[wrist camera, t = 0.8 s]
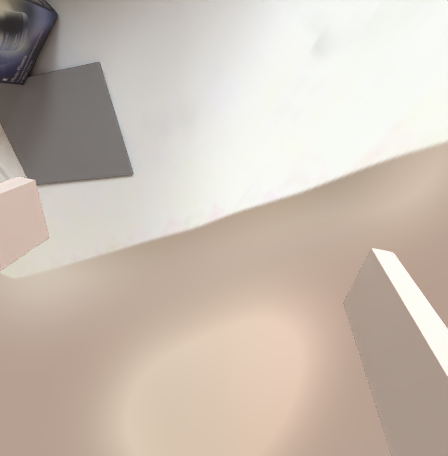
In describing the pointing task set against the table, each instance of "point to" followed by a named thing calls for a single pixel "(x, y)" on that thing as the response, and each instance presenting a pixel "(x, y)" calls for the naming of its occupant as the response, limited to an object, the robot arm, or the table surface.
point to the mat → (64, 126)
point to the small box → (22, 36)
